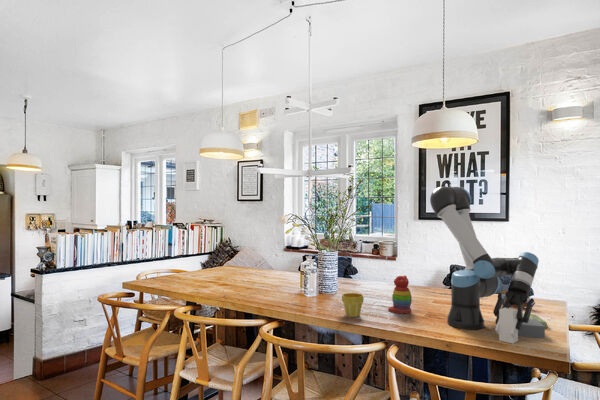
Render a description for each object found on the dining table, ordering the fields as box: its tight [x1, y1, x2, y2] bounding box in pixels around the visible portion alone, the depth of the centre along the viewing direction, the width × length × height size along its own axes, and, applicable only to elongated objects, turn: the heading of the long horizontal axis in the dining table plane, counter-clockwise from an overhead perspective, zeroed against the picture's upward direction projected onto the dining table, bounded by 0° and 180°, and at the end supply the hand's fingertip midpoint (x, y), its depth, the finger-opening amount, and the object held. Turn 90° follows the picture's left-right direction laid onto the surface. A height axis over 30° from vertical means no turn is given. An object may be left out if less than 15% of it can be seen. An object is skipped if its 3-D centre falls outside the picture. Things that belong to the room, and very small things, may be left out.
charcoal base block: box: [518, 319, 546, 339], centre depth 164 cm, size 10×10×5 cm
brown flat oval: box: [498, 289, 530, 309], centre depth 208 cm, size 15×3×8 cm, turn 47°
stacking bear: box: [388, 275, 412, 314], centre depth 199 cm, size 11×10×18 cm
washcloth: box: [523, 312, 549, 329], centre depth 181 cm, size 13×18×3 cm
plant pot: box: [341, 292, 364, 318], centre depth 191 cm, size 10×10×10 cm
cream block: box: [498, 307, 519, 344], centre depth 155 cm, size 5×5×12 cm
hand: (504, 333), depth 153 cm, fingers closed on cream block, 5 cm apart
